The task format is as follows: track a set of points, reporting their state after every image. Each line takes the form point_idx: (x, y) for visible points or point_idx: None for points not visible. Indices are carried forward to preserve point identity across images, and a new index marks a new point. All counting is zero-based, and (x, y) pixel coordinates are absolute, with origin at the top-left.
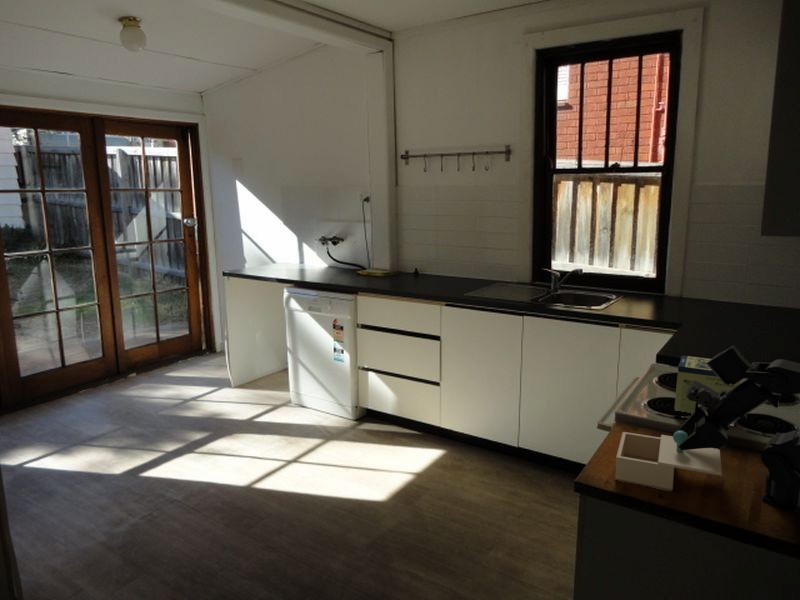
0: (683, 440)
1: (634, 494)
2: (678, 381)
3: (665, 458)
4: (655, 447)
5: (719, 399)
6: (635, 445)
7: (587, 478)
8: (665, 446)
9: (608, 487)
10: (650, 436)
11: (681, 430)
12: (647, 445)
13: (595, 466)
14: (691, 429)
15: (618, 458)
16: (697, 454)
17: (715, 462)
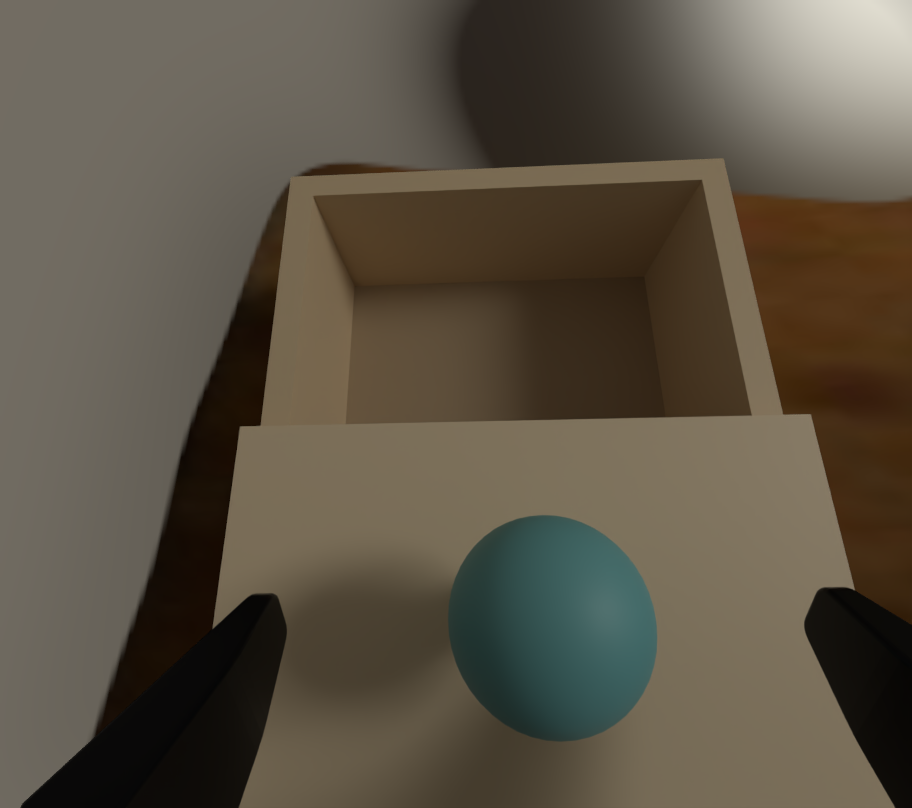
0: (455, 659)
1: (237, 374)
2: None
3: (321, 479)
4: (704, 411)
5: None
6: (677, 291)
7: (324, 174)
8: (566, 465)
9: (269, 262)
10: (756, 340)
11: (822, 621)
12: (696, 356)
13: None
14: (902, 797)
15: (291, 193)
16: (524, 792)
17: None
